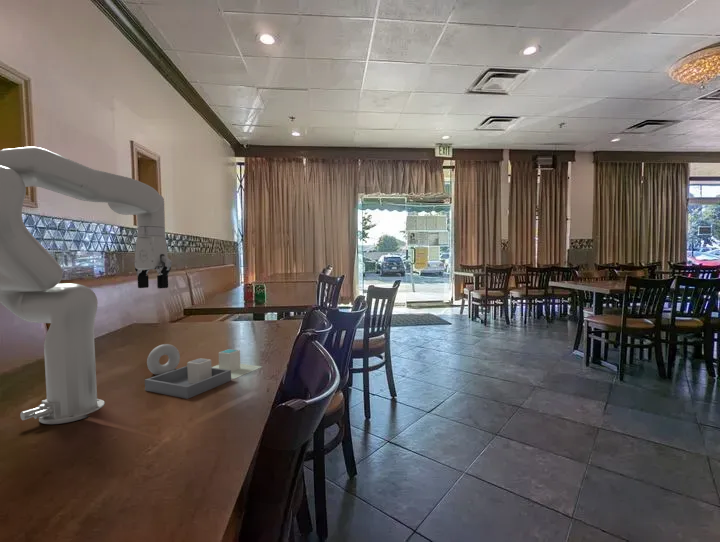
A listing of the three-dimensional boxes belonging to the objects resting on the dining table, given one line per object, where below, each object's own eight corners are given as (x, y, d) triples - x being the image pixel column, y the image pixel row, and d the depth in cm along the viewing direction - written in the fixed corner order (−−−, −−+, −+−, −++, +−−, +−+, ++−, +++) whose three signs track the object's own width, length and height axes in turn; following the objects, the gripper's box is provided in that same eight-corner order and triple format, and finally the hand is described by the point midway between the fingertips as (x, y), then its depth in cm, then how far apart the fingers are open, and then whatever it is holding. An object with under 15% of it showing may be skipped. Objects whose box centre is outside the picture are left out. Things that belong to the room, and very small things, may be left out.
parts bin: (187, 402, 94) (187, 387, 94) (145, 393, 101) (144, 379, 101) (231, 383, 108) (230, 370, 108) (191, 377, 115) (190, 364, 115)
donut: (150, 380, 112) (149, 348, 112) (145, 378, 115) (144, 346, 114) (182, 371, 120) (181, 341, 120) (177, 370, 123) (176, 340, 122)
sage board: (234, 382, 109) (233, 378, 109) (195, 375, 116) (195, 372, 116) (262, 369, 121) (262, 366, 121) (226, 364, 128) (226, 361, 128)
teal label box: (229, 372, 115) (229, 353, 115) (219, 370, 117) (218, 352, 117) (240, 368, 119) (239, 349, 119) (229, 366, 121) (229, 348, 121)
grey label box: (199, 384, 105) (198, 363, 104) (188, 382, 106) (187, 361, 106) (211, 379, 109) (211, 359, 109) (200, 377, 111) (200, 357, 110)
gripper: (122, 234, 115) (124, 288, 115) (157, 231, 107) (159, 289, 107) (146, 235, 122) (147, 287, 122) (180, 232, 114) (181, 287, 114)
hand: (152, 288), depth 115 cm, fingers open, 9 cm apart
